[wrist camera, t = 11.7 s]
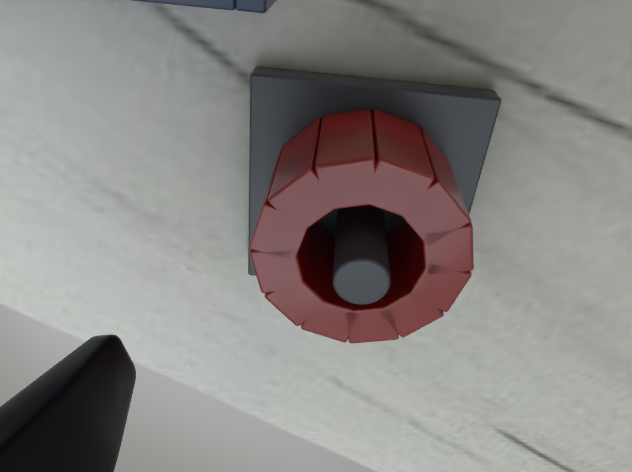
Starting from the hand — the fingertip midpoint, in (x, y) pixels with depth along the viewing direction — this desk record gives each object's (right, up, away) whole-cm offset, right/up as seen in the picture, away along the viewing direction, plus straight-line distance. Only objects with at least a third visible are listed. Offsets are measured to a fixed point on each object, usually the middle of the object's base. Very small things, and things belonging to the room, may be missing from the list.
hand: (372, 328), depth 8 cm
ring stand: (+1, +3, +11) cm, 11 cm away
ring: (+1, +3, +10) cm, 10 cm away
